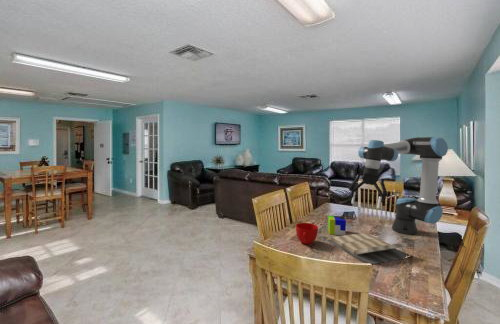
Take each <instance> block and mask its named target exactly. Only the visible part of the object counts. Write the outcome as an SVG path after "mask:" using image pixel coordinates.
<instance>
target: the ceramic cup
mask: <svg viewBox="0 0 500 324" xmlns="http://www.w3.org/2000/svg"><path fill="white" fill-rule="evenodd" d="M318 230H319V226H318V225H316V224H314V223H310V222H299V223H297V224H295V231H296V232H295V233H296V236H297V238H298V240H299V241H300V243H301V244H304V245H312V244H313V243H314V242H315V240H316V239H317V237H318V233H319V231H318Z"/></svg>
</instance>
